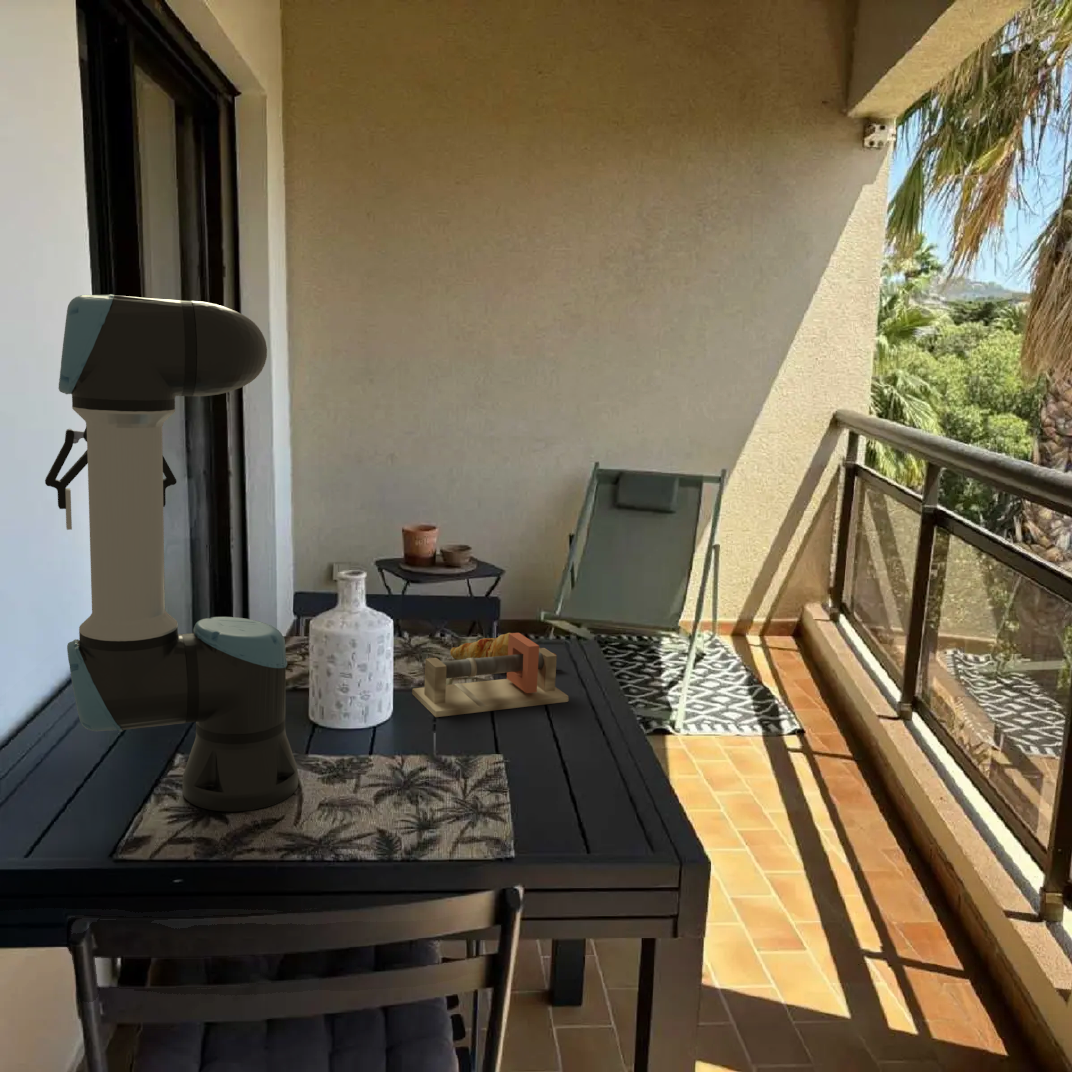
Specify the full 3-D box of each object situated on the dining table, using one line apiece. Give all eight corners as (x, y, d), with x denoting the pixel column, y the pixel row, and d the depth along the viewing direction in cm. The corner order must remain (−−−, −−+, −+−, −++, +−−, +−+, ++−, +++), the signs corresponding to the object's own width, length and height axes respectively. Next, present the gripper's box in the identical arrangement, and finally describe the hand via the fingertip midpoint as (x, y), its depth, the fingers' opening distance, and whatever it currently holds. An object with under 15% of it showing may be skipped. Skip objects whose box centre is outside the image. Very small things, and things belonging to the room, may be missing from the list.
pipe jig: (538, 680, 189) (540, 641, 188) (568, 701, 179) (570, 660, 178) (412, 693, 179) (413, 652, 177) (435, 717, 168) (437, 673, 167)
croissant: (446, 682, 197) (443, 653, 192) (455, 646, 205) (452, 617, 200) (554, 688, 195) (554, 659, 190) (559, 652, 203) (558, 623, 198)
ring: (516, 677, 185) (518, 632, 184) (536, 692, 178) (539, 645, 176) (506, 678, 184) (508, 633, 183) (526, 693, 177) (528, 646, 175)
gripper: (186, 401, 176) (187, 521, 179) (25, 397, 164) (30, 525, 168) (192, 404, 169) (193, 528, 173) (25, 400, 158) (30, 533, 162)
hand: (113, 527), depth 171 cm, fingers open, 13 cm apart
